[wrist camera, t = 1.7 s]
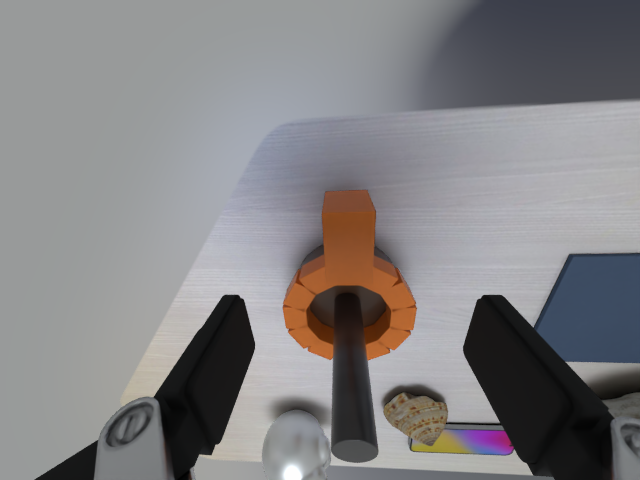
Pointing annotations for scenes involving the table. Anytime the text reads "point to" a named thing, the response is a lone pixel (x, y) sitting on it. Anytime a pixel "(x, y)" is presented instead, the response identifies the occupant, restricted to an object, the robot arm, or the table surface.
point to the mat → (595, 309)
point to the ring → (349, 279)
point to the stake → (350, 364)
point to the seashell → (417, 417)
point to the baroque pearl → (296, 448)
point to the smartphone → (468, 441)
